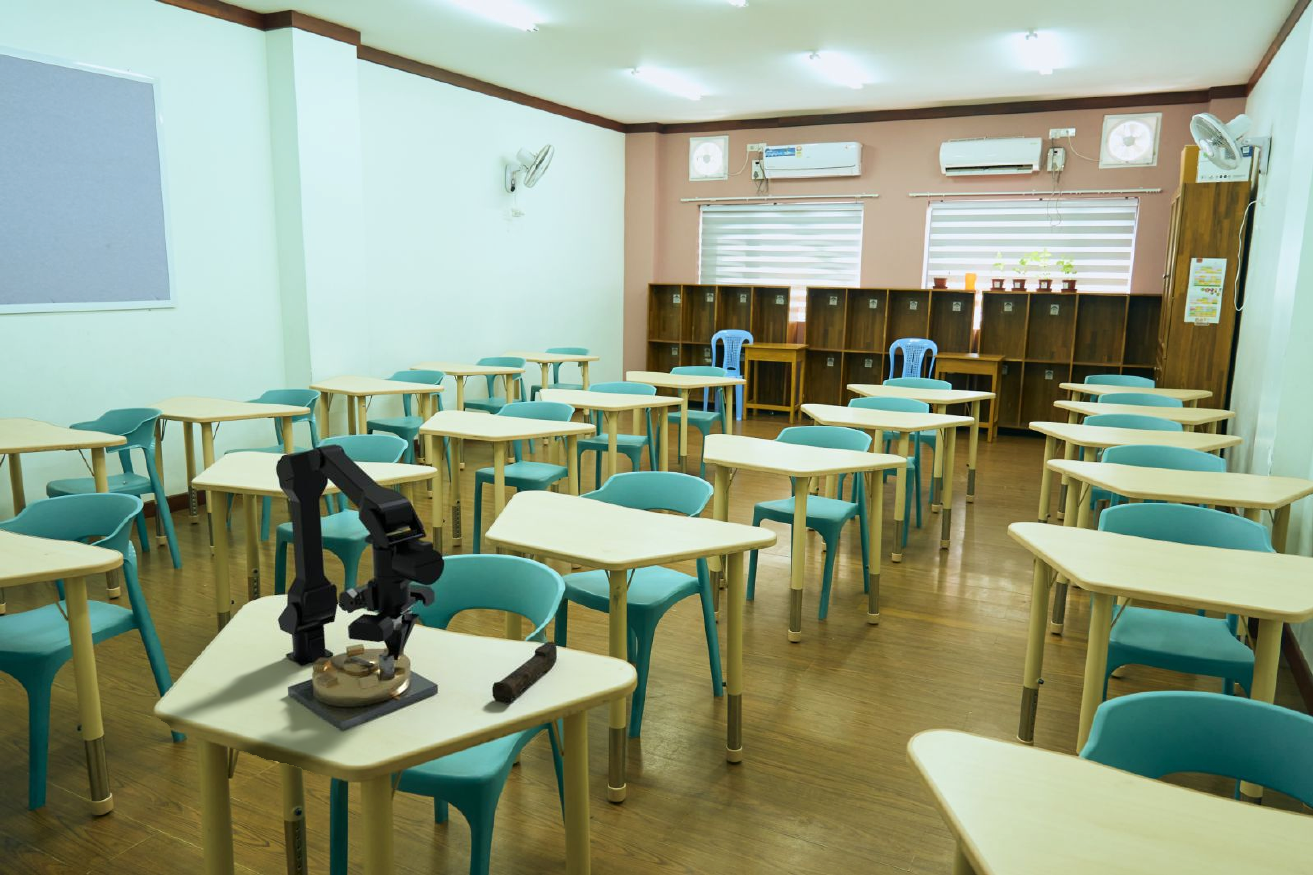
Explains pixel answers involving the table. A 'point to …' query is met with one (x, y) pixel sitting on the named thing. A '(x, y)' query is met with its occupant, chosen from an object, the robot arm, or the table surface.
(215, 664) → the table surface
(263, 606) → the table surface
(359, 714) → the base plate
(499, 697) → the rough bark branch
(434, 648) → the table surface
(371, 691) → the ring nut
